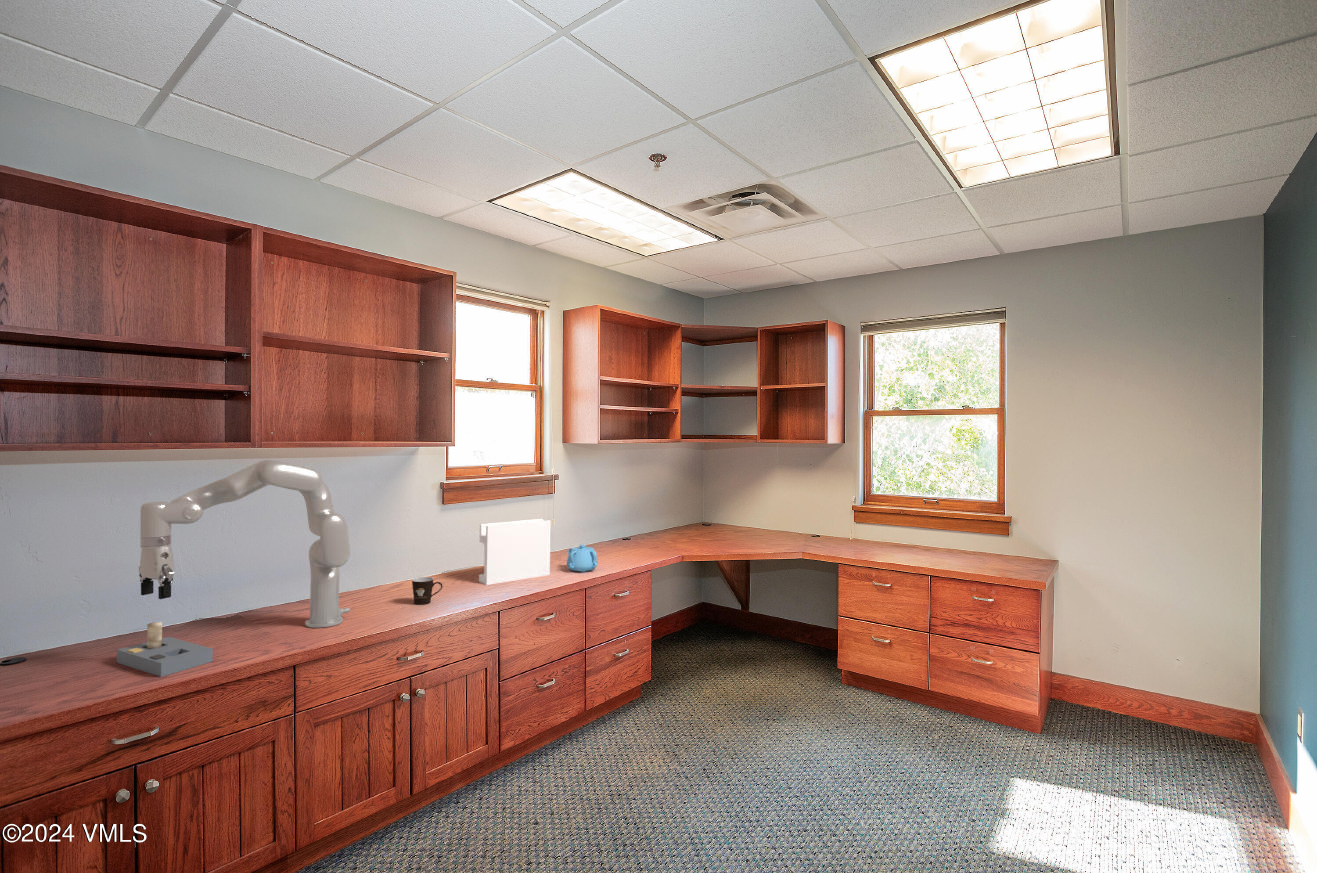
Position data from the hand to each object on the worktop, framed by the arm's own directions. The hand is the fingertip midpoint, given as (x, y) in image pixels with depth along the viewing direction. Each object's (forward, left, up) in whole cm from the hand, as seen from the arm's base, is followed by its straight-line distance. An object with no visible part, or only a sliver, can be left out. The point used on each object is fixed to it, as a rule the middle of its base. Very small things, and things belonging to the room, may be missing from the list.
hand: (155, 596), depth 196 cm
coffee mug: (-87, +25, -20) cm, 92 cm away
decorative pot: (-174, +48, -20) cm, 181 cm away
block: (-142, +29, -20) cm, 146 cm away
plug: (0, 0, -19) cm, 19 cm away
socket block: (0, +6, -20) cm, 20 cm away
